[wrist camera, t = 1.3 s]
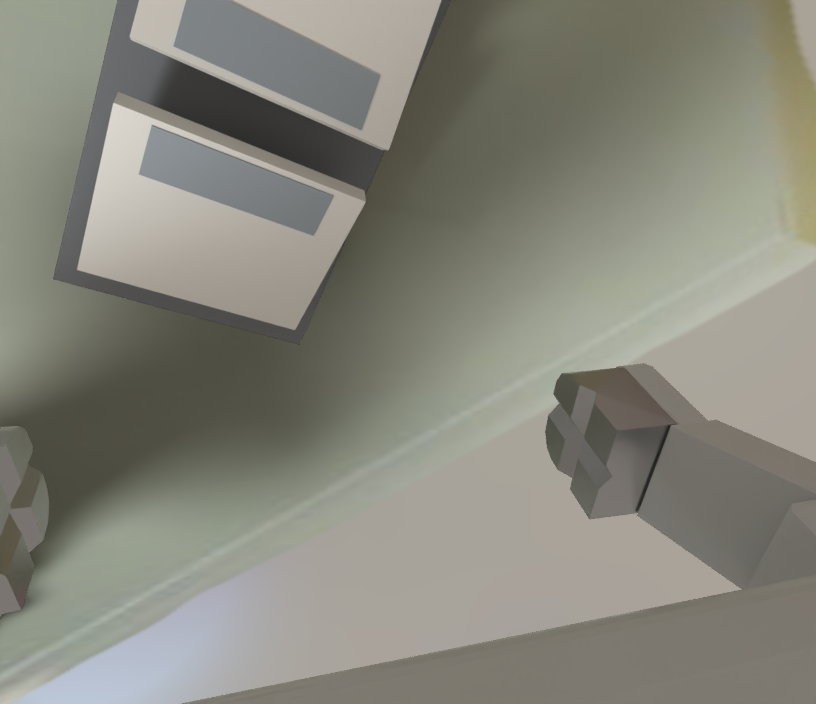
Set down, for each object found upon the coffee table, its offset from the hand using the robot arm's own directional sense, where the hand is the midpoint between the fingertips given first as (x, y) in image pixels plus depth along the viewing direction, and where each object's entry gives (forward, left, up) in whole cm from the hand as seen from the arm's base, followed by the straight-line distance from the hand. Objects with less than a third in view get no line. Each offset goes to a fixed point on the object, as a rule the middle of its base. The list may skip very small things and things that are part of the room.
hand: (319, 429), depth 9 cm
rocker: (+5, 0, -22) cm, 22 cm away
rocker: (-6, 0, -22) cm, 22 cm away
